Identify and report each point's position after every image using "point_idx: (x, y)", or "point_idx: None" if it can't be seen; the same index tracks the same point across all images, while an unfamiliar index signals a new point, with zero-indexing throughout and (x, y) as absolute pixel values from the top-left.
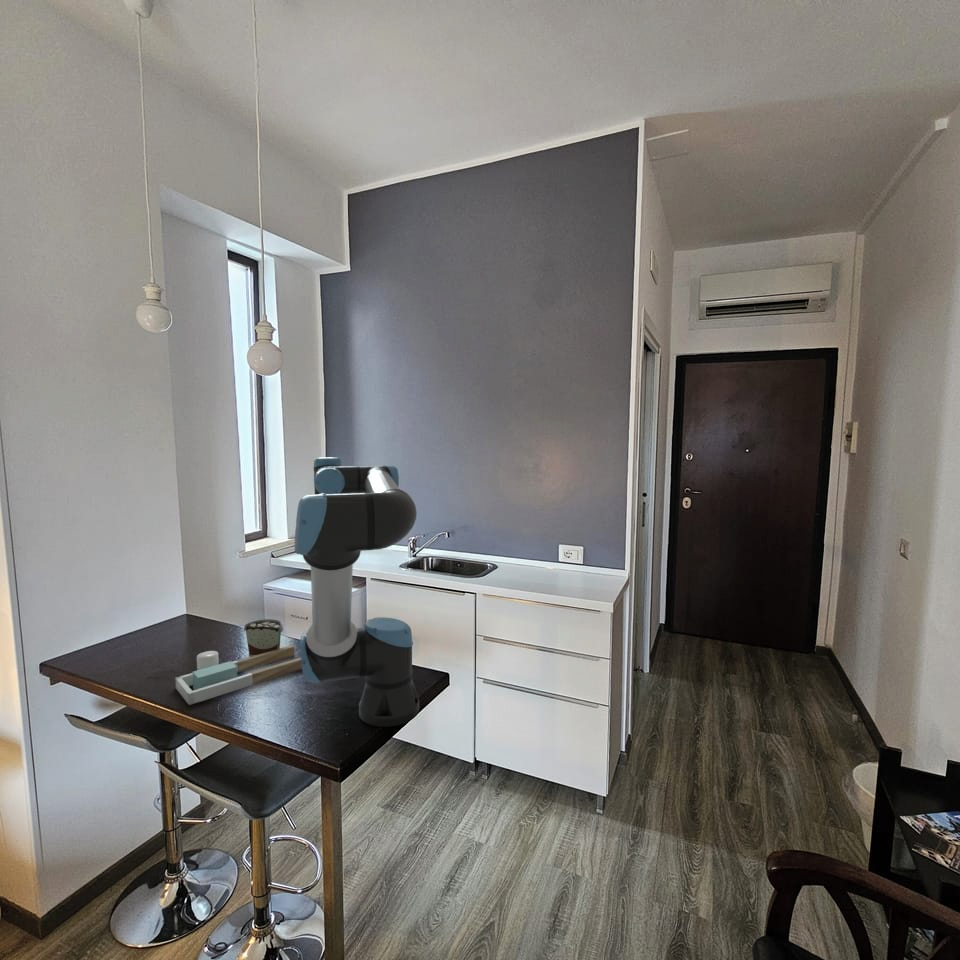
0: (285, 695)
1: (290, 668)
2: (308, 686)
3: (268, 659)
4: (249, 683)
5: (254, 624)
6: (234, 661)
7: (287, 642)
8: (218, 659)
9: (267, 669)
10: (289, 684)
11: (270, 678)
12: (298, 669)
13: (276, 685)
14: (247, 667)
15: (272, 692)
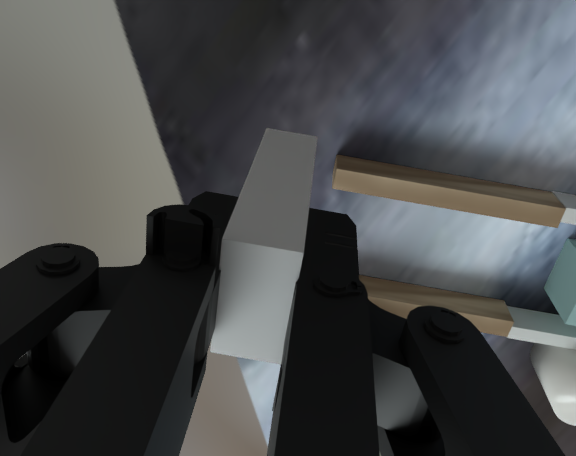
0: (559, 20)
1: (414, 174)
2: (456, 11)
3: (407, 291)
4: (566, 196)
5: (380, 454)
6: (515, 336)
7: (262, 361)
8: (555, 371)
9: (506, 201)
10: (482, 89)
11: (488, 181)
12: (382, 163)
13: (513, 121)
14: (478, 299)
15: (563, 84)
